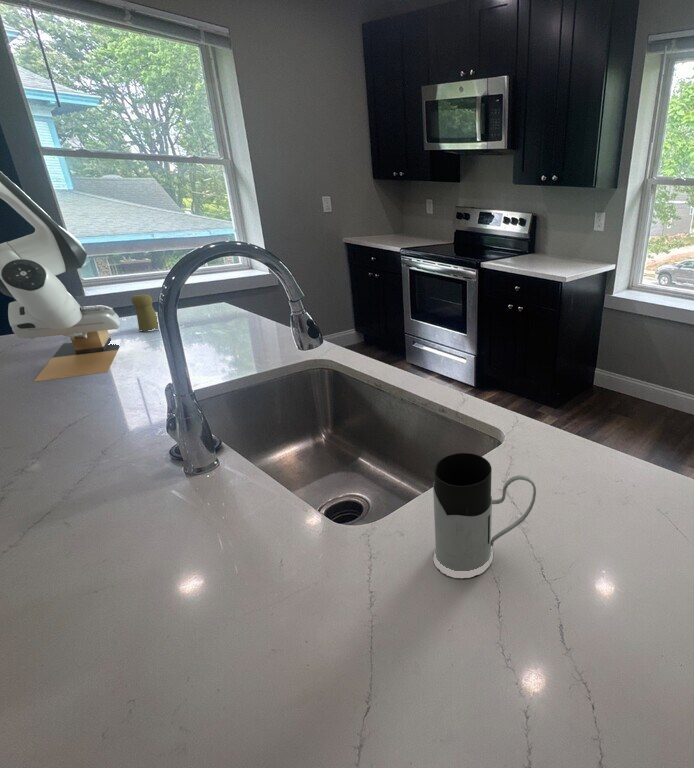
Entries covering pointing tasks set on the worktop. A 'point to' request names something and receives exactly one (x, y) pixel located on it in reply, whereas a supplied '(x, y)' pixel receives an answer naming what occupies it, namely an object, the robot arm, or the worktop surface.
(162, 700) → the worktop surface
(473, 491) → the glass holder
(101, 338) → the eraser block
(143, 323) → the pepper shaker
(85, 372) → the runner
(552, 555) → the worktop surface
